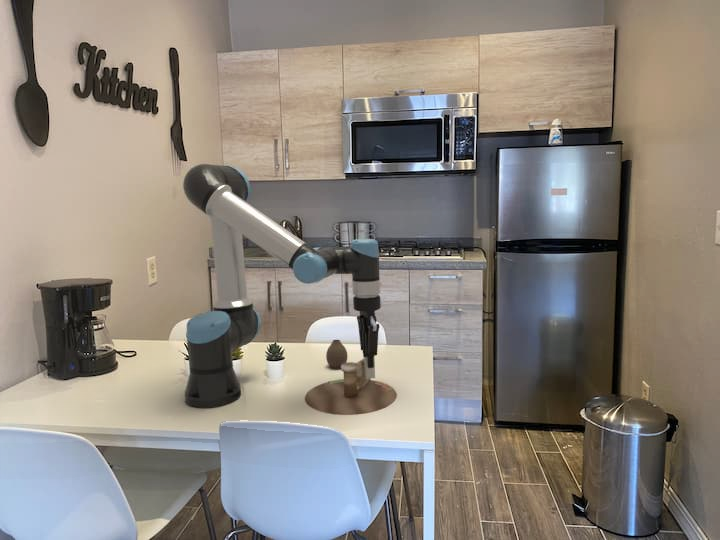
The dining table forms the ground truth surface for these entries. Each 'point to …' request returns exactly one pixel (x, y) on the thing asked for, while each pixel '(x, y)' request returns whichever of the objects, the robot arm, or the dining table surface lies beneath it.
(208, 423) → the dining table surface
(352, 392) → the peg lever
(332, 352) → the vase
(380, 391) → the brown wooden flat disc
